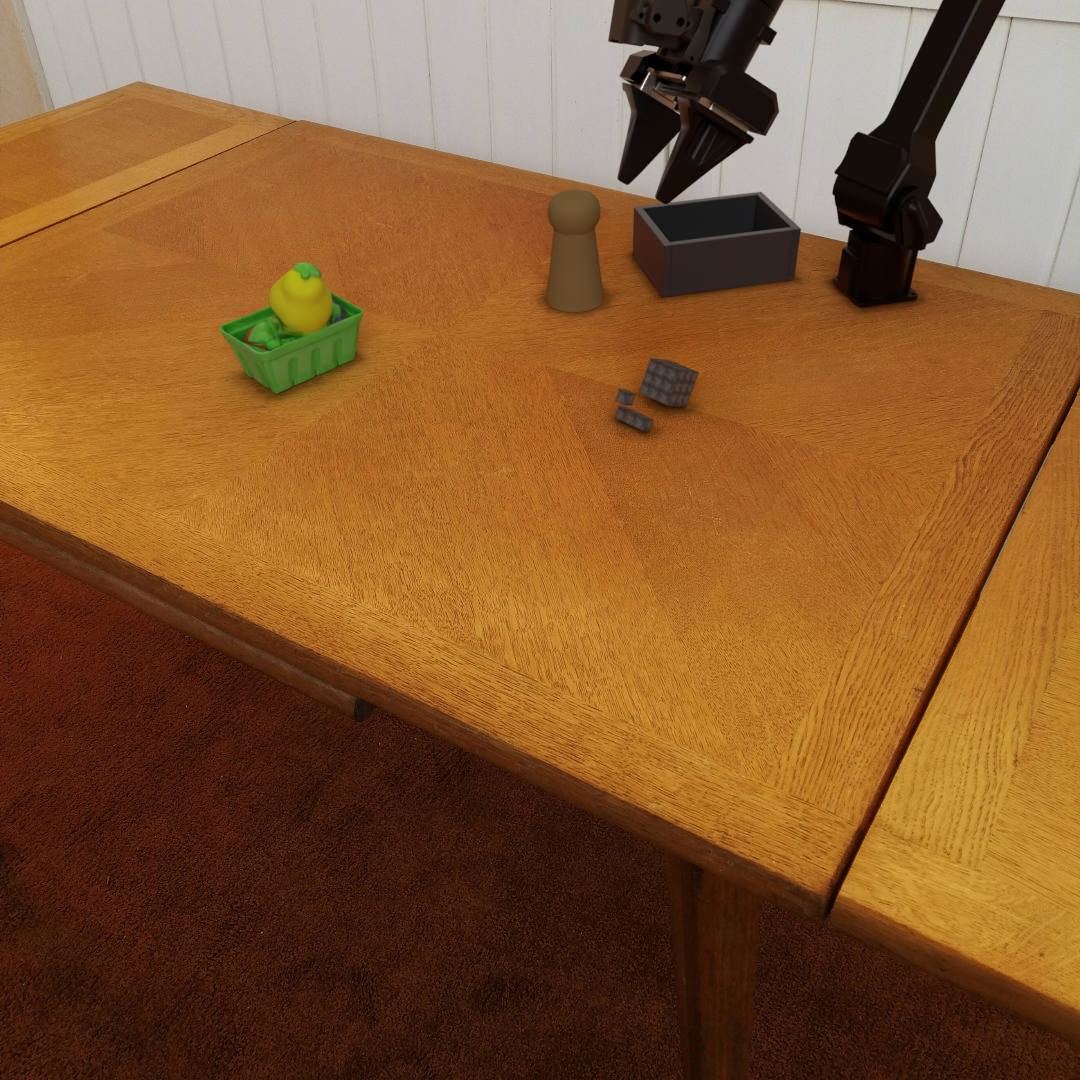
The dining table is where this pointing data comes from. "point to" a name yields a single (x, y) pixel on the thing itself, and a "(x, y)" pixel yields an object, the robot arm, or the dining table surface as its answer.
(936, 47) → the robot arm
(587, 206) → the brown pepper mill
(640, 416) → the building blocks
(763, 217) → the bin
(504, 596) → the dining table surface
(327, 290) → the fruit basket
